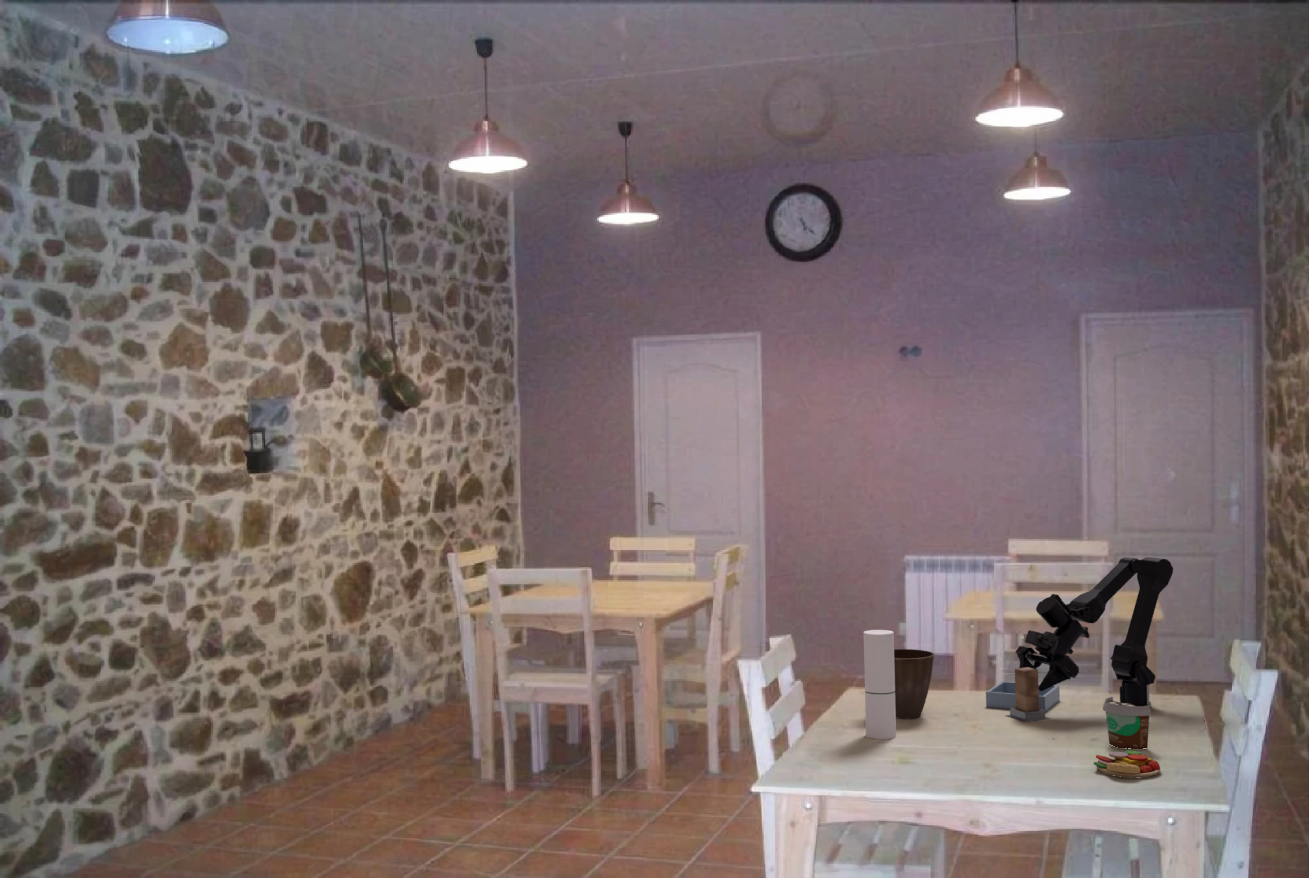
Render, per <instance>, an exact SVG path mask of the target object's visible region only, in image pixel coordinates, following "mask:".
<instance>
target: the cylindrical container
mask: <svg viewBox="0 0 1309 878" xmlns="http://www.w3.org/2000/svg"><path fill="white" fill-rule="evenodd" d="M894 633H895V632H894V631H893V630H887V629H870V630H864V631H863V665H864V666H863V667H864V668H863V669H864V670H863V671H864V699H865V700H864V701H865V703H864V704H865V707H864V708H865V711H864V712H865V736H866V738H868V737H869V738H868V739H872V738H873V739H874V738H875V739H874V740H891V739H895V738H897V718H896V710H895V670H894V649H895V641H894V640H895V639H894V638H895V637H894Z"/></svg>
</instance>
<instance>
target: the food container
mask: <svg viewBox="0 0 1309 878" xmlns="http://www.w3.org/2000/svg"><path fill="white" fill-rule="evenodd" d="M1102 710H1103V712H1105V715H1106V724H1107V734H1108V735H1107V736H1108V744H1109V745H1110V744H1111V745H1113V746H1115V747H1114V748H1116V747H1118V748H1117V749H1120V748H1127V749H1126V750H1128V748H1131V749H1143V748H1147V749H1148V745H1149V744H1148V743H1149V730H1150V729H1149V728H1150V727H1149V725H1150V716H1152V710H1151V708H1150V705H1149V706H1135V705H1133V704H1130V703H1120V701H1119V702H1118V701H1115V700H1114V697H1113V696H1109V697H1107V698H1105V699H1104V702H1103V705H1102ZM1111 745H1110V746H1111ZM1113 746H1112V747H1113Z"/></svg>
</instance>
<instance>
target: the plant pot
mask: <svg viewBox="0 0 1309 878" xmlns="http://www.w3.org/2000/svg"><path fill="white" fill-rule="evenodd" d="M934 656H935V653H934V652H932V651H928V650H923V649H912V648H911V649H910V648H897V649H895V648H894V670H895V710H896V719H905V718H908V719H917V718H919V717H921V716H922V714H923V710H924V707H925V704H926V700H927V696H928V693H929V688H930V684H931V679H932V675H933V674H932V673H933V668H934V667H933V665H934Z"/></svg>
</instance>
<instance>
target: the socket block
mask: <svg viewBox="0 0 1309 878" xmlns="http://www.w3.org/2000/svg"><path fill="white" fill-rule="evenodd" d="M1004 717H1007V718H1010V719H1013V720H1017V721H1019V722H1022V723H1029V722H1035V721H1036V722H1038V721H1045V720H1051V719H1052V718H1050V717H1047V716H1046V712H1045V710H1043V709H1039V710H1038V711H1030V712H1023V711H1020V710H1017V709H1016V707H1015V708H1010V709H1009V714H1008V715H1007V714H1005V715H1004Z"/></svg>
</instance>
